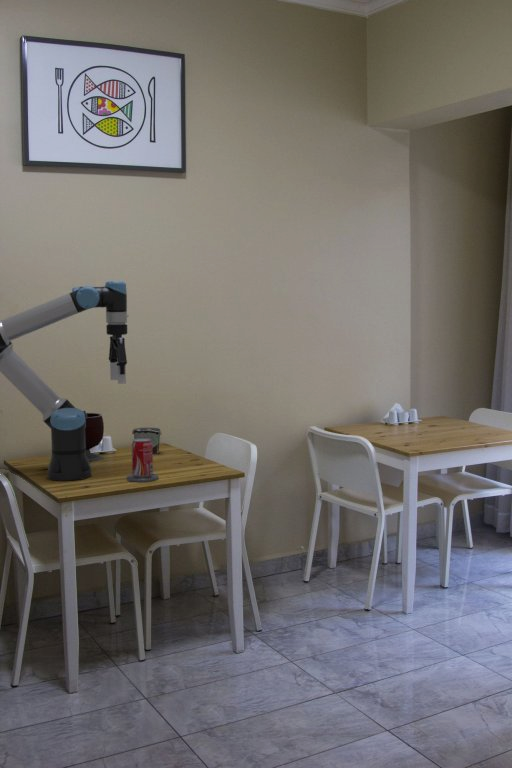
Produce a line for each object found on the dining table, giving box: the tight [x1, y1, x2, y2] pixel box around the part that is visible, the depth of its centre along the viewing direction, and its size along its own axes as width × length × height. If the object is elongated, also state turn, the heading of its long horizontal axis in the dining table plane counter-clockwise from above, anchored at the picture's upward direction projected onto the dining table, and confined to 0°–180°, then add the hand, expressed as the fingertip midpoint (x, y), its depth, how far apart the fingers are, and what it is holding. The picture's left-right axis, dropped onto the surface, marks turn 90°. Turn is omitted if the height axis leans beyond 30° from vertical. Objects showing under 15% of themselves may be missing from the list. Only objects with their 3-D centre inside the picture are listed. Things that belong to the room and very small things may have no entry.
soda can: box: [131, 438, 154, 478], centre depth 295 cm, size 7×7×13 cm
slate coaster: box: [126, 473, 159, 483], centre depth 296 cm, size 11×11×1 cm
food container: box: [131, 426, 162, 456], centre depth 343 cm, size 12×6×10 cm, turn 72°
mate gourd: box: [82, 410, 105, 462], centre depth 331 cm, size 16×14×20 cm
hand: (118, 381), depth 313 cm, fingers open, 13 cm apart
